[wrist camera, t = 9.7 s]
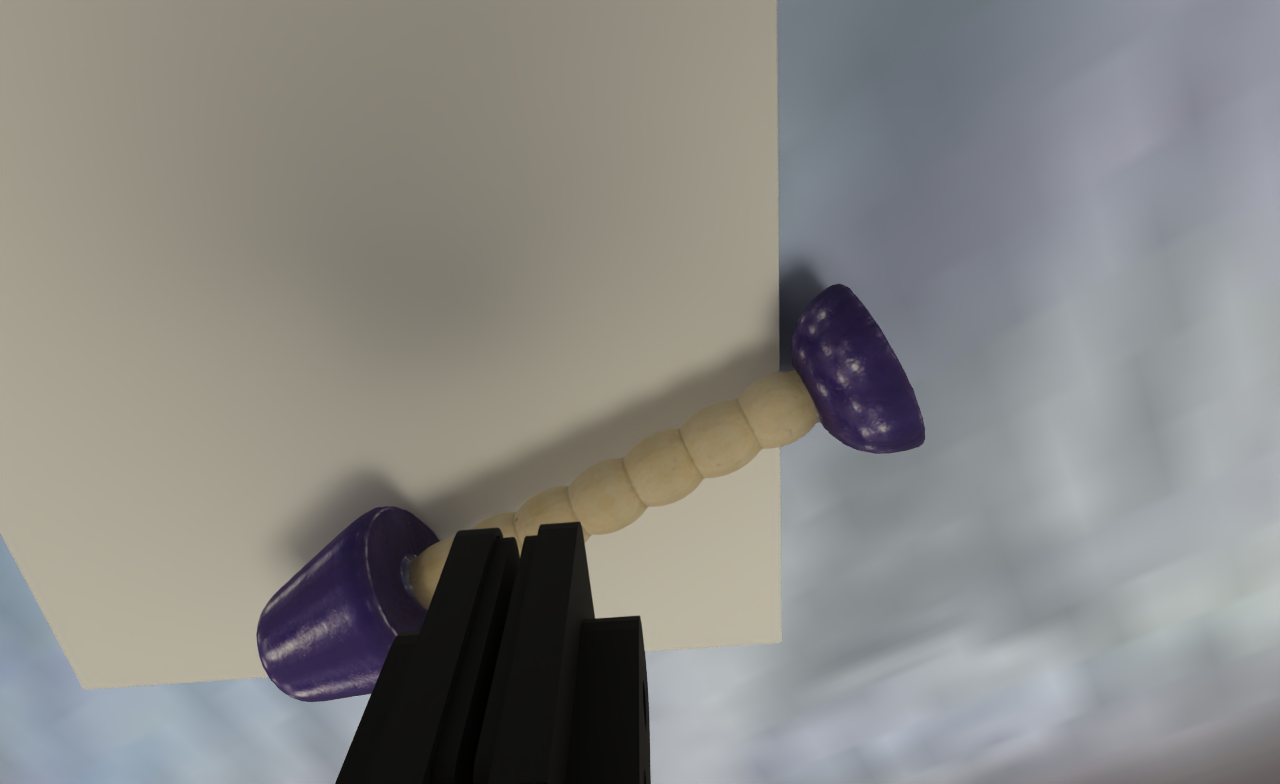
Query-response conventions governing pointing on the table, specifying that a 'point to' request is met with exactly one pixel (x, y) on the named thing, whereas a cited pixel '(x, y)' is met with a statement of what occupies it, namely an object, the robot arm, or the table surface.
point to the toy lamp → (585, 499)
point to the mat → (373, 298)
